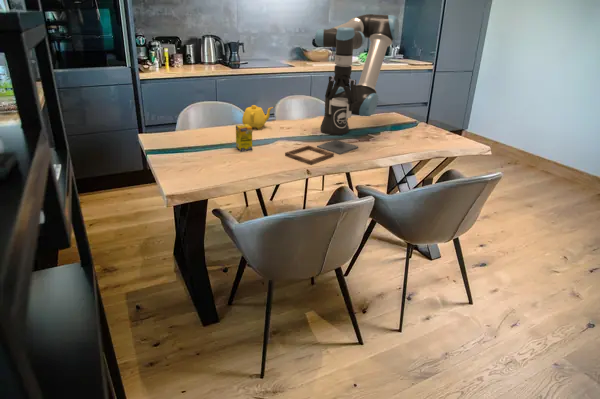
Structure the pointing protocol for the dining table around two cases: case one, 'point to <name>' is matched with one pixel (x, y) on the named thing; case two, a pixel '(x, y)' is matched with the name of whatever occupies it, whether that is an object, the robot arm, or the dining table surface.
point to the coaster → (337, 147)
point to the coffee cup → (339, 115)
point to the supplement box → (243, 137)
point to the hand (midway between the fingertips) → (339, 115)
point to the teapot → (255, 116)
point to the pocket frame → (291, 155)
